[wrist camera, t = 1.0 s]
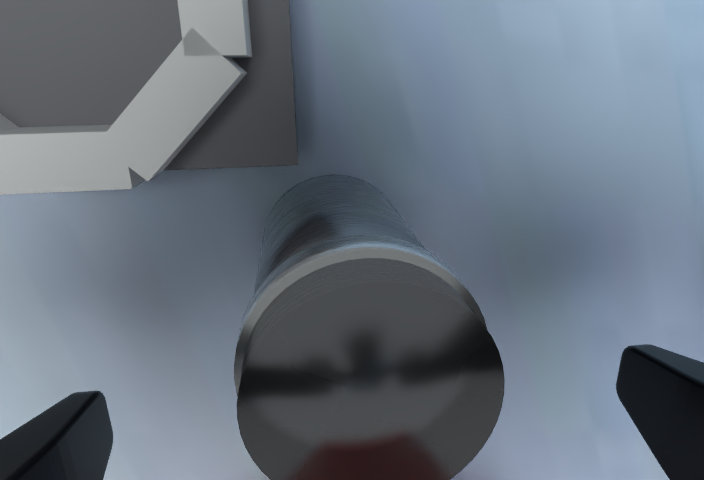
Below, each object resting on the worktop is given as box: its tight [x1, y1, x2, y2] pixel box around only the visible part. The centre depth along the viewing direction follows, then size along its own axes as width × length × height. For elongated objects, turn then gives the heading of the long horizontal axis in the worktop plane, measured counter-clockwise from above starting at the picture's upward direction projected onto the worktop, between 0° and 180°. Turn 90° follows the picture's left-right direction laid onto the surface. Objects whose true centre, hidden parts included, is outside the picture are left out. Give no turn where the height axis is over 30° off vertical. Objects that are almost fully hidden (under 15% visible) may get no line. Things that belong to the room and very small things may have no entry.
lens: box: [234, 175, 504, 480], centre depth 12 cm, size 5×5×8 cm
